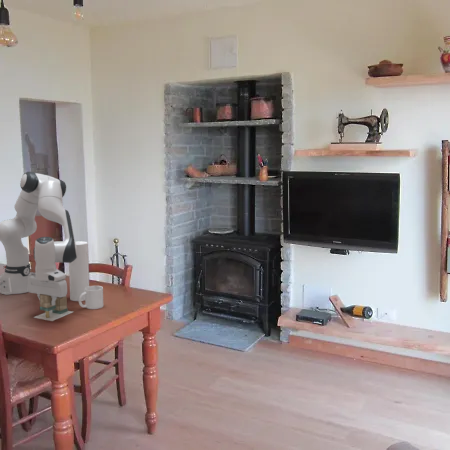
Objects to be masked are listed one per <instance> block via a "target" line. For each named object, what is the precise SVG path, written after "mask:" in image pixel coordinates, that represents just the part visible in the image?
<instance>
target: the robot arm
mask: <svg viewBox="0 0 450 450" xmlns="http://www.w3.org/2000/svg"><path fill="white" fill-rule="evenodd" d="M19 184H20V188H21V191H20V193H19V195H18V197H17V198H16V199H17V200H16V202H15V203H14V210H15V211H16V215H15V216H14V217H13V218H10V219H5V220H2V221H0V242H1V244H2V245H3V248H4V251H5V258H6V259H5V260H6V265H3V269H4V272H2V273H1V274H0V294H3V295H5V296H7V295H16V294H17V295H18V294H25V293H31V294H36V295H37V298H38V300H39V301H40V294H42V295H48V296H51V298H52V301H50V305H55V301H56V299H57V297H64V296H66V297H67V294H68V283H67V280H66V278H67V274H66V273H65V272H63V271H61V270H60V269H57V263H65V264H69V263H71V262H73V261H74V260H75V259H76V258H77V255H78V251H77V246H76V244H75V235H74V230H73V223H72V220H71V215H70V213H69V211H68V210H67V209H65V207H64V206H63V205H64V204H63V198H64V197H65V195H66V192H67V185H66V182H65V181H64V180H62V179H59V178H56V177H53V176H51V175H48V174H43V173H37V172H35V171H26V172H24V174H22V176H21V178H20V183H19ZM37 212H39V215H41V216H42V218H44V219H46V220H47V221H51V222H54V223H58V224H59V225H60V226H62V227H63V232H64V240H62V241H58V240H57V241H54V238H53V237H51V236H41V237H38V238H36V240H35V241H34V242H35V243H34V247H33V259H34V261H35V268H34V270H35V272H33V271H31V263H30V256H29V248H28V247H26V246H24V243H23V242H22V239H23V238H27V237H30V236H32V235H33V234H34V233H36V231H37V228H38V225H37V222H36V214H37Z"/></svg>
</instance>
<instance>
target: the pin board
mask: <svg viewBox="0 0 450 450" xmlns="http://www.w3.org/2000/svg"><path fill="white" fill-rule="evenodd" d="M72 313H74V311H73V310H72V311H71V310H68V311H67V312H64V313H62V314H57V313H52V310H50V311H44V312H43V313H40V314H38V315H36V316H33V318H34V319H39V320H45V321H50V322H54V321H55V320H58V319H61V318H63V317H65V316H68V315H70V314H72Z"/></svg>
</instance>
